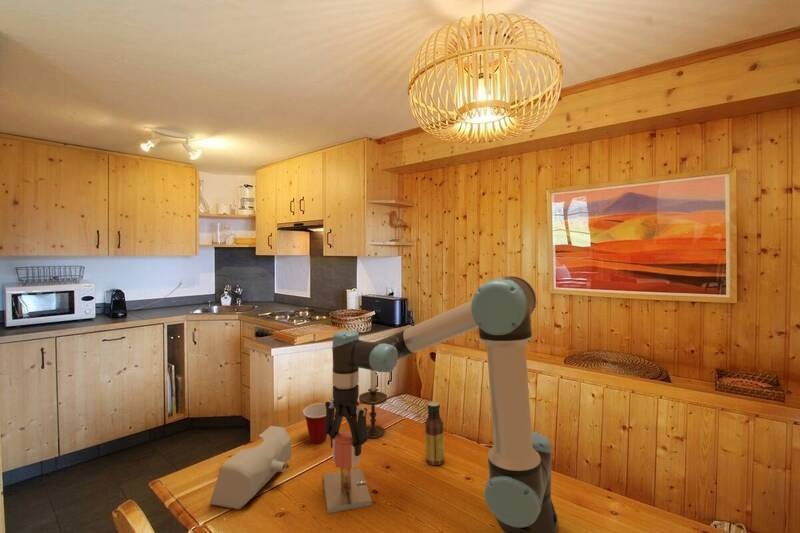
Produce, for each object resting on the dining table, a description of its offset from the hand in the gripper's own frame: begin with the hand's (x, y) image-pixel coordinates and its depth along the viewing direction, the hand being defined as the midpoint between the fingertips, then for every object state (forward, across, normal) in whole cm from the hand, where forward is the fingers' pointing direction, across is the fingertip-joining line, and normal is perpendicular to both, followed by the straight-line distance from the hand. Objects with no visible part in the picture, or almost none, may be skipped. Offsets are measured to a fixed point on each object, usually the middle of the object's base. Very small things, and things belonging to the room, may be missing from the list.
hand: (345, 462), depth 111 cm
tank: (+9, +25, +10) cm, 28 cm away
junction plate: (+9, 0, 0) cm, 9 cm away
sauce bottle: (+9, -16, -28) cm, 33 cm away
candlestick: (+9, +13, -34) cm, 37 cm away
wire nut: (0, 0, 0) cm, 0 cm away
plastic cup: (+9, +28, -19) cm, 35 cm away
